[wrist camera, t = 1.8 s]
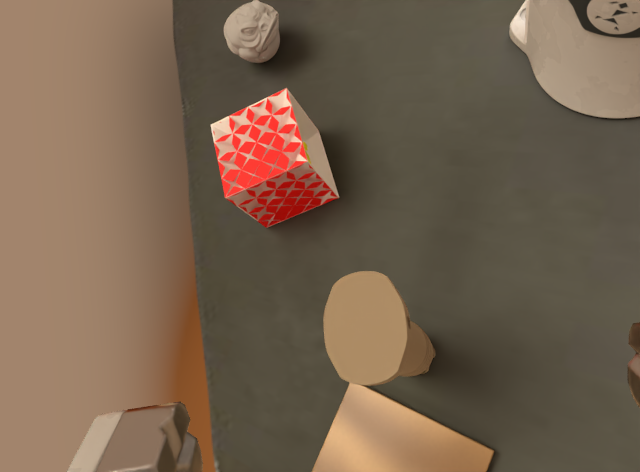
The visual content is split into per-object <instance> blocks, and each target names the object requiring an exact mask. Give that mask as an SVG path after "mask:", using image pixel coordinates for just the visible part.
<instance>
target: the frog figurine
mask: <svg viewBox="0 0 640 472" xmlns="http://www.w3.org/2000/svg"><path fill="white" fill-rule="evenodd" d="M278 17H279V15H278V12H277V11H275V10H274V8H273V7H271V6H269V5H267V4H264V3H261V2H259V1H257V0H254V1H253V2H252V3H247V4H245V5H243V6H241V7H240V8H238V9H237V10H235V11H234V12H233V13H232V14H231V15H230V16H229V17H228V19H227V21H226V23H225V25H224V36H225V38H226V40H227V45H228V47H229V49H230V50H231V51H232V52H233V53H234V54H237V55H239V56H240V57H241V58H243V59H245V60H248V61H250V62H254V63H261V62H265V61H268V60H269V59H271V58H272V57H273V56H274V55H275V54H276V52H277V50H278V48H279V44H280V34H279V24H278V21H279V18H278Z"/></svg>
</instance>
